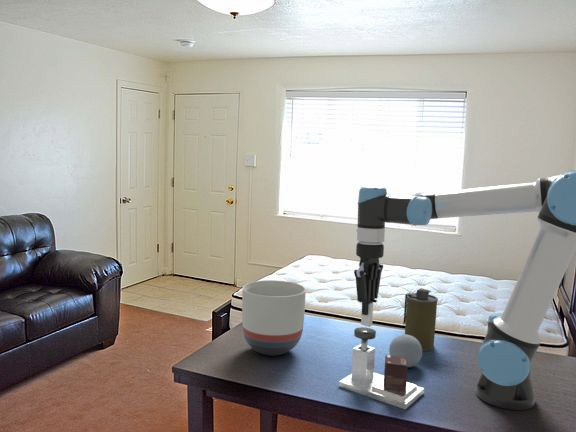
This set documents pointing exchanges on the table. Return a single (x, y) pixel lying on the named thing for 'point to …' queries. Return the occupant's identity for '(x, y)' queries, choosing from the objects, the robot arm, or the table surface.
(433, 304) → the canister
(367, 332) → the plunger
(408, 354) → the decorative stone
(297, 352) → the table surface
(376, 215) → the robot arm
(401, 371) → the box
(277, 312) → the planter
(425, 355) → the table surface
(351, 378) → the press
